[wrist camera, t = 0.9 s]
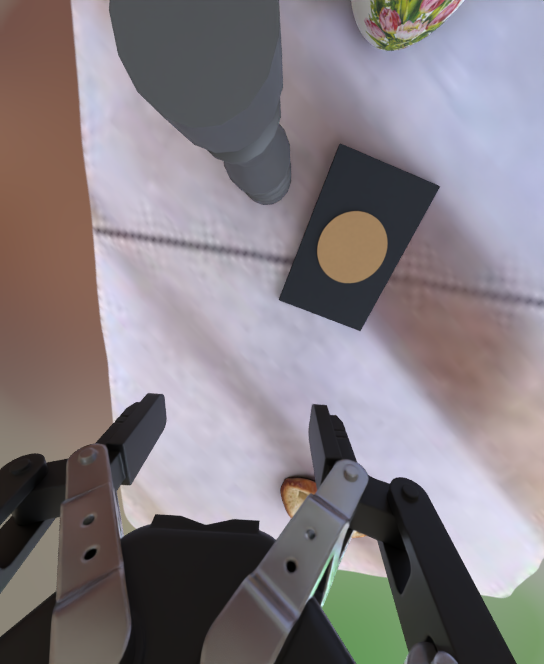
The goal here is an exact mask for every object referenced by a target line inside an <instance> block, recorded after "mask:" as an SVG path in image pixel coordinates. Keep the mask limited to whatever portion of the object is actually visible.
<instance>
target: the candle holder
mask: <svg viewBox="0 0 544 664" xmlns="http://www.w3.org/2000/svg"><path fill="white" fill-rule="evenodd" d="M109 12H110V17H111V22H112V27H113V32H114V36H115V41H116V46H117V51H118V55H119V57H120V59H121V61H122V63H123V65H124V67H125V69H126V71H127V73H128V74H129V76H130V78H131V80H132V82H133V84H134V86H135V88H136V90H137V92H138V93H139V94H140V95H141V96H142V97H143V98H144V99H145V100H146V101H147V102H148V103H150V104H151V105H152V106H153V107H154V108H155V109H156V110H157V111H158V112H159V113H160V114H161V115H162V116H163V117H164V118H165V119H166V120H167V121H168V122H169V123H171V124H172V125H173V126H174V127H175V128H176V129H177V130H178V131H180V132H181V133H182V134H183V135H184V136H185V137H186V138H187V139H188V140H190V141H191V142H192V143H193V144H194V145H197V146H199V147H202V148H204V149H207V150H208V151H209V152H210V153H211V154H212V155H213V156H214V157H215V158H217V159H219V160H222V161H224V167H225V169H226V171H227V173H228V175H229V177H230V179H231V180H232V181H233V182H234V183H235V184H236V185H237V186H238V187H239V188H240V189H241V190H242V191H244V192H245V193H246V194H247V195H248V196H249V197H250V198H251V199H252V200H254V201H255V202H257V203H260V204H263V205H268V204H274V203H276V202H278V201H279V200H281V199H282V198H283V197H284V195H285V194H286V193H287V192H288V189H289V186H290V183H291V163H290V144H289V141H288V139H287V136H286V133H285V131H284V129H283V128H282V127H281V126H280V124H279V121H280V118H281V110H280V95H281V91H282V88H283V75H282V47H281V30H280V12H279V0H110V3H109Z"/></svg>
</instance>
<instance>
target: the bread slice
mask: <svg viewBox="0 0 544 664" xmlns="http://www.w3.org/2000/svg"><path fill="white" fill-rule="evenodd" d="M316 492H317V487H316V482H314V481H311V480H308V479H303V478H293V479H292V478H287V479H285V481H284V483H283V484H282V486H281V497H282V501H283V504H284V506H285V509H286V511H287V513H288V515H289V516H290V517H291V518H292V517H293V516H294V514H295V513H296V512H297V510H298V509H299V507H300V506H301V504H302V503H303V502H304V500H305V499H306V497H307V496H308V495H309V494H310V493H312V494H313V495H314V494H315V493H316ZM363 536H366V535H364V534H362V533H359V532H357V531H354V533H353V535H352V537H351V538H358V537H363Z"/></svg>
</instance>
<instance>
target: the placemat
mask: <svg viewBox="0 0 544 664" xmlns="http://www.w3.org/2000/svg"><path fill="white" fill-rule="evenodd" d="M439 188H440V186H438V185H436V184H433V183H431V182H429V181H426V180H424V179H422V178H420V177H417V176H415V175H413V174H410V173H408V172H406V171H403V170H401V169H399V168H396V167H394V166H392V165H389V164H387V163H385V162H382V161H380V160H378V159H375V158H373V157H371V156H368V155H366V154H364V153H361V152H359V151H357V150H354V149H352V148H350V147H347V146H345V145H343V144H340V145H339V147H338V149H337V152H336V155H335V157H334V160H333V162H332V165H331V167H330V170H329V172H328V175H327V178H326V180H325V183H324V185H323V188H322V190H321V193H320V196H319V198H318V201H317V203H316V206H315V208H314V211H313V213H312V216H311V219H310V221H309V224H308V226H307V229H306V231H305V234H304V237H303V239H302V242H301V244H300V247H299V249H298V252H297V254H296V257H295V260H294V262H293V265H292V267H291V270H290V272H289V275H288V277H287V280H286V283H285V285H284V288H283V290H282V293H281V295H280V298H279V300H280V301H283V302H285V303H288V304H291V305H293V306H296V307H299V308H301V309H304V310H306V311H309V312H312V313H314V314H317V315H320V316H322V317H325V318H327V319H330V320H333V321H335V322H338V323H341V324H343V325H346V326H348V327H351V328H354V329H356V330H359V331H361V329H362V327H363V325H364V323H365V322H366V320H367V318H368V316H369V314H370V313H371V311H372V309H373V307H374V305H375V303H376V302H377V300H378V298H379V296H380V294H381V293H382V291H383V289H384V287H385V285H386V284H387V282H388V280H389V278H390V276H391V274H392V273H393V271H394V269H395V267H396V265H397V264H398V262H399V260H400V258H401V256H402V255H403V253H404V251H405V249H406V247H407V245H408V244H409V242H410V240H411V238H412V236H413V235H414V233H415V231H416V229H417V227H418V226H419V224H420V222H421V220H422V218H423V216H424V215H425V213H426V211H427V209H428V207H429V206H430V204H431V202H432V200H433V198H434V197H435V195H436V193H437V191H438V189H439Z"/></svg>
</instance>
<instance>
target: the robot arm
mask: <svg viewBox="0 0 544 664" xmlns="http://www.w3.org/2000/svg"><path fill="white" fill-rule="evenodd" d="M165 425H166V408H165V398H164V395H163V394H153V393H148V394H147V395H146V396H145V397H144V398H143V399H142V400H141V402H136V403H134V404H132V405H131V406H129V407H128V408H126V409H125V411H124V412H123V413H122V414H121V415H120V417H118V418H117V420H116V421H115V423H113V424H112V425H111V426H110V427H109V429H108V430H107V431H106V432H105V433H104V434H103V435H102V436H101V438H100V439H99V440H98V441H97V442H96V443H95V444H90V445H87V446H84V447H82V448H80V449H78V450H77V451H75V452H74V453H73V454H72V455H71V456H70V457H69V458H68V459H64V460H59V461H53V462H48V463H46V461H45V458H44V456H43V455H41V454H29V455H25V456H21V457H19V458H17V459H14V460H13V461H11V462H9V463H8V464H6V465H5V466H4V467H2V468H1V469H0V525H1V524H2V523H3V522H4V521H5V519H6V518H7V517H8V516H9V515H10V514H12V516H11V518H10V519H9V520H8V521H7V522H6V523H5V524H4V525H3V527H2V528H1V529H0V593H1V592H2V591H3V589H4V588H5V587H6V585H7V584H8V582H9V581H10V580H11V578H12V577H13V576H14V574H15V573H16V572H17V570H18V569H19V567H20V566H21V565H22V563H23V562H24V561H25V559H26V558H27V557H28V555H29V554H30V552H31V551H32V550H33V548H34V547H35V546H36V544H37V543H38V541H39V540H40V539H41V537H42V536H43V535H44V533H45V532H46V530H47V529H48V528H49V526H50V525H51V524H52V522H53V521H54V520H55V518H57V517H60V528H59V548H58V569H57V590H56V592H54V593H53V594H52V595H51V596H50V597H48V598H47V599H46V600H45V601H43V602H42V603H41V604H40V605H39V606H37V607H36V608H35V609H34V610H33V611H31V612H30V613H29V614H28V615H26V616H25V617H24V618H23V619H22V620H20V621H19V622H18V623H17V624H16V625H14V626H13V627H12V628H11V629H10V630H8V631H7V632H6V633H5V634H3V635H2V636H1V637H0V664H356V662H355V661H354V659H353V658H352V656H351V655H350V653H349V651H348V650H347V648H346V646H345V645H344V643H343V642H342V640H341V638H340V637H339V635H338V634H337V632H336V630H335V629H334V627H333V626H332V624H331V622H330V621H329V619H328V618H327V616H326V614H325V613H324V611H323V610H322V606H323V604H324V602H325V599H326V597H327V595H328V592H329V590H330V587H331V585H332V582H333V580H334V577H335V574H336V571H337V569H338V566H339V564H340V562H341V560H342V557H343V555H344V553H345V551H346V549H347V546H348V544H349V542H350V540H351V537H352V535H353V533H354V531H357V532H359V533H362V534H364V535H366V536H369V537H371V538H374V539H376V540H377V541H378V545H379V548H380V552H381V556H382V559H383V563H384V566H385V570H386V573H387V577H388V580H389V584H390V588H391V591H392V595H393V598H394V602H395V605H396V609H397V612H398V616H399V620H400V623H401V627H402V630H403V634H404V637H405V641H406V645H407V648H408V652H409V653H408V655H407V657H406V659H405V661H404V663H403V664H517V663H516V662H515V660H514V658H513V656H512V654H511V652H510V650H509V648H508V646H507V645H506V643H505V641H504V639H503V637H502V635H501V633H500V631H499V629H498V628H497V626H496V624H495V622H494V620H493V618H492V616H491V614H490V612H489V610H488V609H487V607H486V605H485V603H484V601H483V599H482V597H481V595H480V593H479V591H478V590H477V588H476V586H475V584H474V582H473V580H472V578H471V576H470V574H469V572H468V571H467V569H466V567H465V565H464V563H463V561H462V559H461V557H460V555H459V554H458V552H457V550H456V548H455V546H454V544H453V542H452V540H451V538H450V536H449V535H448V533H447V531H446V529H445V527H444V525H443V523H442V521H441V519H440V518H439V516H438V514H437V512H436V510H435V508H434V506H433V504H432V502H431V500H430V499H429V497H428V495H427V493H426V492H425V491H424V489H423V488H422V487H421V486H419V485H418V484H417V483H415V482H414V481H412V480H409V479H407V478H402V477H399V478H395V479H393V480H392V481H391V483H390V484H389V483H386V482H383V481H380V480H377V479H375V478H372V477H370V476H369V475H368V474H367V472H366V470H365V469H364V468H363V467H362V466H361V465H360V464H358V463H357V461H356V458H355V455H354V452H353V450H352V447H351V444H350V441H349V438H348V436H347V433H346V431H345V427H344V425H343V422H342V421H341V420H340V419H339V418H338V417H337V416H336V415H330V414H329V411H328V408H327V405H317V404H313V405H312V408H311V416H310V423H309V443H310V450H311V456H312V462H313V468H314V475H315V481H316V487H317V492H316V493H315V494H314V495H313V494H312V493H310V494H309V495H308V496H307V497H306V499H305V500H304V502H303V503H302V504H301V506H300V507H299V509H298V510H297V512H296V513H295V514H294V516H293V517H292V519H291V520H290V521H289V523H288V524H287V526H286V527H285V529H284V530H283V531H282V533H281V534H280V536H279V537H278V538H277V540H275V539H274V538H273V537H271V536H270V535H268V534H266V533H265V532H262V531H260V530H259V521H254V520H238V519H233V520H228V521H223V522H218V523H213V524H209V525H204V524H201V523H198V522H196V521H193V520H191V519H188V518H185V517H183V516H174V515H158V514H155V517H154V519H153V521H152V523H151V524H150V525H146V526H143V527H140V528H138V529H136V530H134V531H132V532H130V533H128V534H127V535H125V536H124V533H123V528H122V521H121V515H120V509H119V504H118V497H117V490H118V488H119V487H120V485H131V484H132V482H133V481H134V479H135V477H136V476H137V474H138V472H139V470H140V469H141V467H142V465H143V464H144V462H145V460H146V459H147V457H148V455H149V454H150V452H151V450H152V449H153V447H154V445H155V444H156V442H157V440H158V439H159V437H160V435H161V434H162V432H163V430H164V428H165Z"/></svg>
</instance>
